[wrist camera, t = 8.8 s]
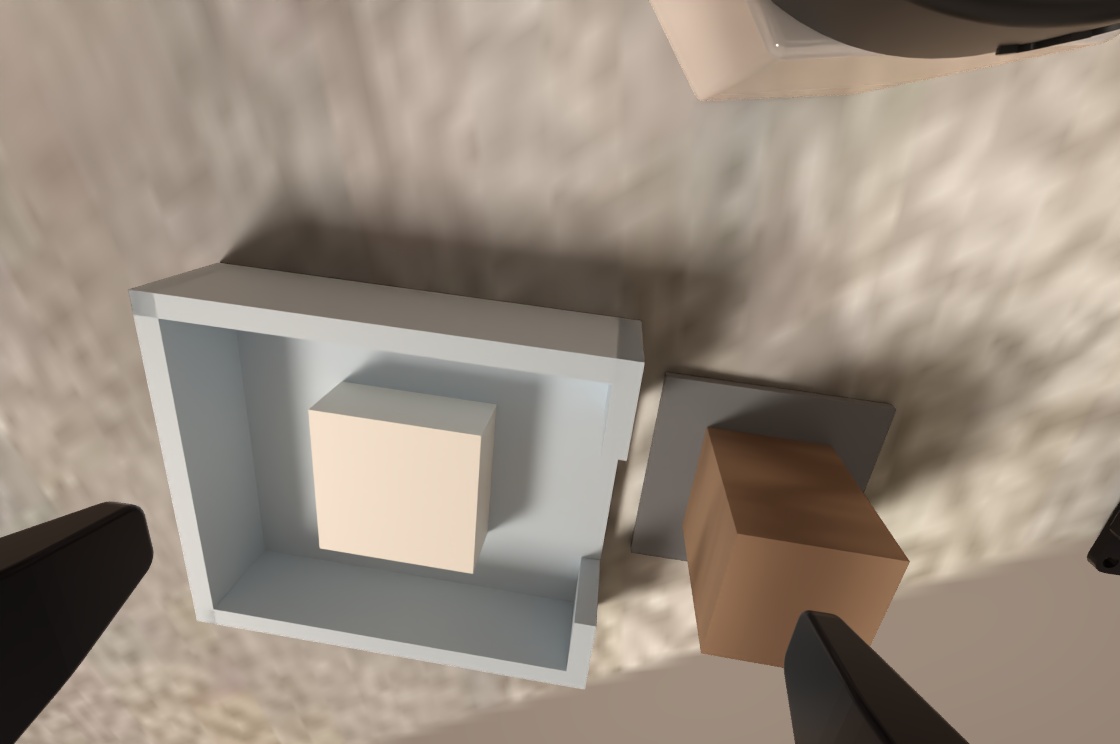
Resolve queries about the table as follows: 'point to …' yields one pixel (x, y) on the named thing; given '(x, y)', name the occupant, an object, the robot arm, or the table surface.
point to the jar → (865, 41)
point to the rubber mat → (749, 410)
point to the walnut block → (781, 545)
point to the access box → (391, 462)
